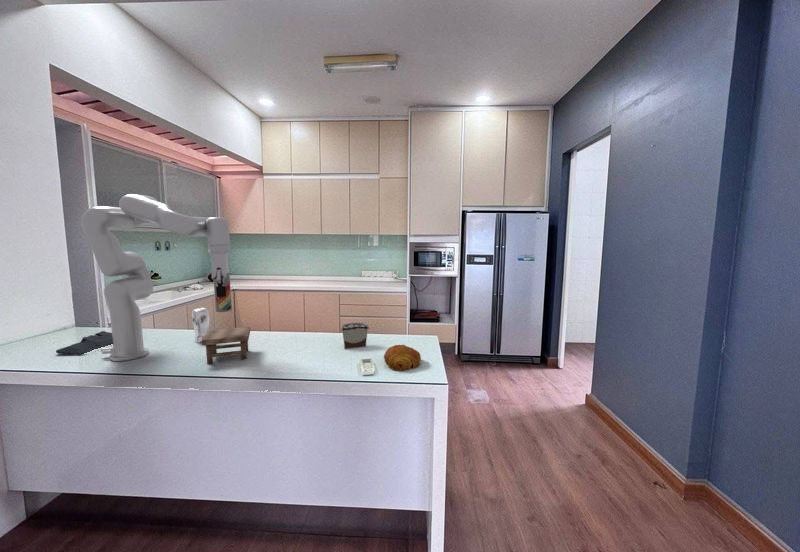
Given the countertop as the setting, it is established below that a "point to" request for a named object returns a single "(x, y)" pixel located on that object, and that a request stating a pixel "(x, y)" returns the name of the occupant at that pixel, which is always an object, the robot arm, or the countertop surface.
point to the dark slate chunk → (88, 344)
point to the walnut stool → (226, 337)
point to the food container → (354, 335)
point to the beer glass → (200, 323)
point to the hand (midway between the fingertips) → (222, 294)
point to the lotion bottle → (223, 302)
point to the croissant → (402, 357)
